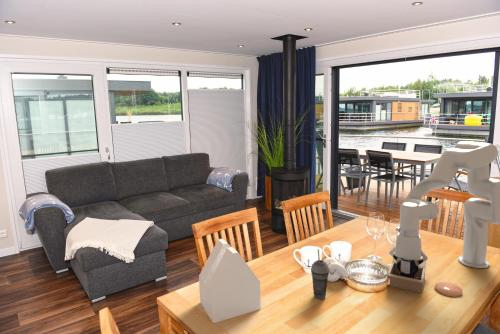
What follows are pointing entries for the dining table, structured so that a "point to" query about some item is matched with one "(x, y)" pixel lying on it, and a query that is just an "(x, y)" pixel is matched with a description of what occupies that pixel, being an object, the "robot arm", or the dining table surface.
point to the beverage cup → (319, 278)
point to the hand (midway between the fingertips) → (407, 271)
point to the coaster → (448, 289)
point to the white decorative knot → (336, 269)
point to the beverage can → (407, 268)
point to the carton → (405, 281)
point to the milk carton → (228, 284)
